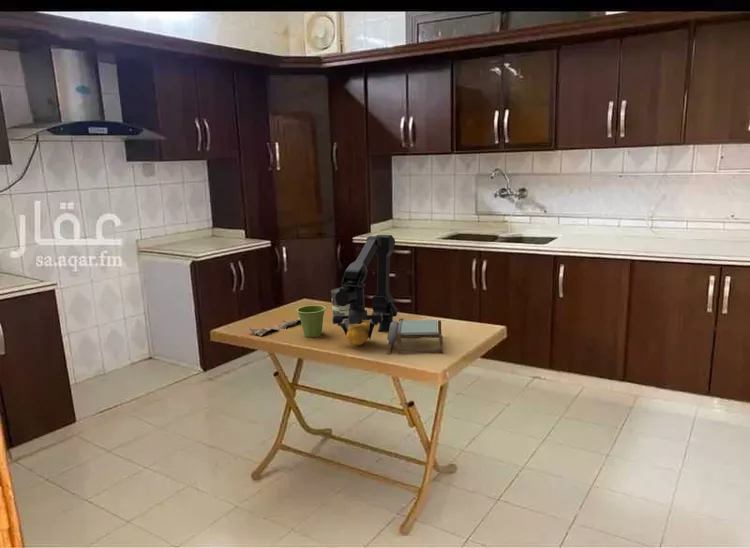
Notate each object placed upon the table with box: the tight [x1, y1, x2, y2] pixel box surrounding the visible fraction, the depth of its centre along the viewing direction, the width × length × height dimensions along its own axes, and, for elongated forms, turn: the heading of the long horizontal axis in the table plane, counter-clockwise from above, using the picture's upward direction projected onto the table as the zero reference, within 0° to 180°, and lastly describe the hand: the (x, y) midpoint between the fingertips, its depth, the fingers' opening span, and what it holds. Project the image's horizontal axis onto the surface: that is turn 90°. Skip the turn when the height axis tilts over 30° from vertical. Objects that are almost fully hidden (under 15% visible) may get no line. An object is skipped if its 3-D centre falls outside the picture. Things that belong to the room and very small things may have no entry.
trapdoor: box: [386, 319, 438, 344], centre depth 206 cm, size 16×18×4 cm
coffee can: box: [330, 287, 350, 324], centre depth 244 cm, size 10×10×14 cm
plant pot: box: [296, 304, 326, 338], centre depth 225 cm, size 12×12×11 cm
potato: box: [345, 321, 370, 346], centre depth 209 cm, size 7×14×7 cm, turn 154°
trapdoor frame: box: [386, 318, 444, 355], centre depth 206 cm, size 20×20×8 cm
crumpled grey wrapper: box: [248, 318, 301, 336], centre depth 242 cm, size 34×10×3 cm, turn 144°
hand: (359, 339), depth 210 cm, fingers closed on potato, 8 cm apart
